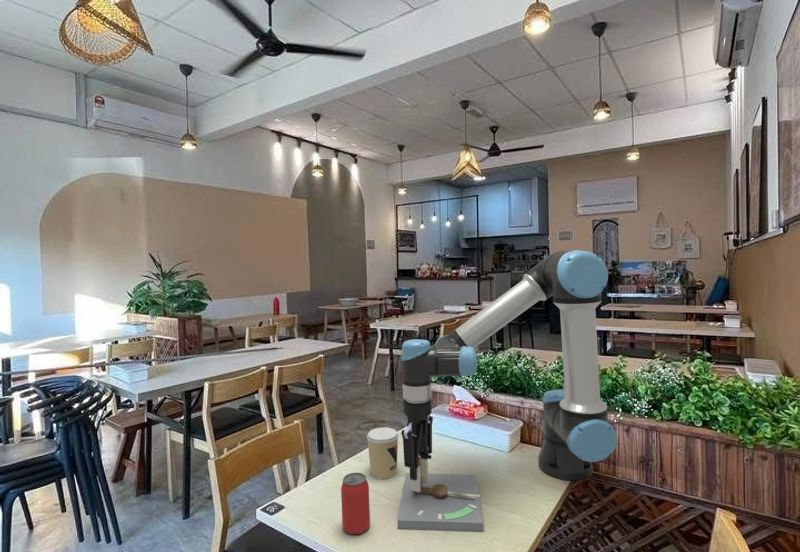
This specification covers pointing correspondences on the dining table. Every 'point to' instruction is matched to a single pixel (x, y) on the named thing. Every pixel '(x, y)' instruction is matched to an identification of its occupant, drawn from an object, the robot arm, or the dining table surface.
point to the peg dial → (439, 488)
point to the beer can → (355, 503)
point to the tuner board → (442, 505)
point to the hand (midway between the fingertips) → (419, 486)
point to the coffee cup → (383, 452)
